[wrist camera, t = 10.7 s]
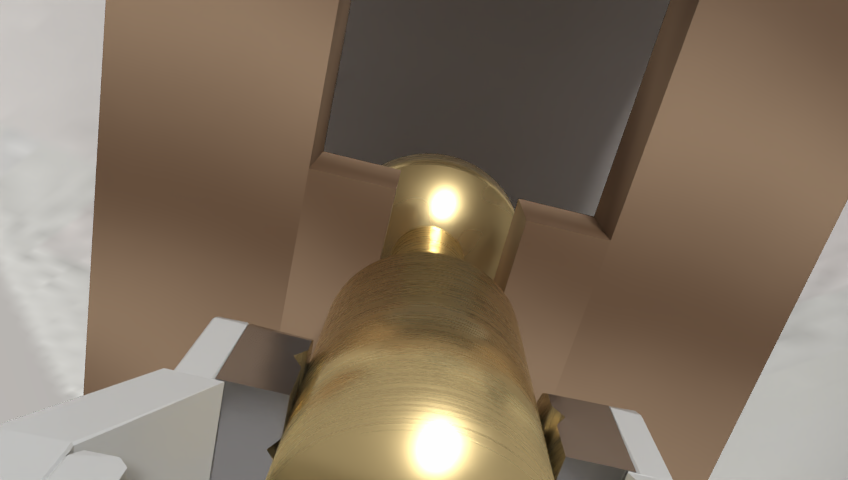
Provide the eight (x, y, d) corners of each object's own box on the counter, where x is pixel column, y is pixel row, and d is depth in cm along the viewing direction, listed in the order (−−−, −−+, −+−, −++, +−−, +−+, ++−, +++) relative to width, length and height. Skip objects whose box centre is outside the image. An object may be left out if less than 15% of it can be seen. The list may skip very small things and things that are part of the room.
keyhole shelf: (311, -355, 17) (150, -784, 8) (795, -218, 18) (1177, -465, 9) (209, 378, 26) (72, 595, 16) (543, 452, 26) (597, 701, 17)
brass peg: (543, 179, 16) (695, 440, 6) (491, 342, 18) (548, 745, 8) (357, 132, 16) (219, 333, 6) (321, 303, 17) (169, 671, 8)
